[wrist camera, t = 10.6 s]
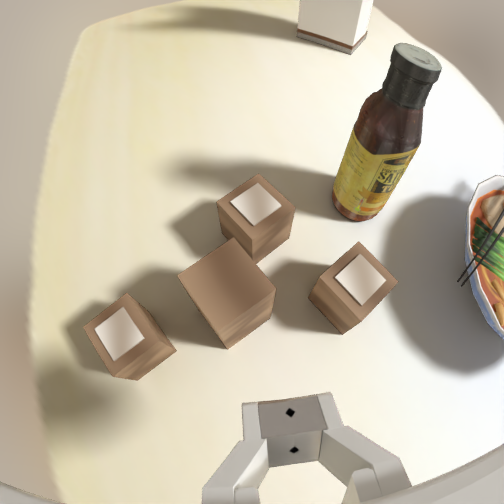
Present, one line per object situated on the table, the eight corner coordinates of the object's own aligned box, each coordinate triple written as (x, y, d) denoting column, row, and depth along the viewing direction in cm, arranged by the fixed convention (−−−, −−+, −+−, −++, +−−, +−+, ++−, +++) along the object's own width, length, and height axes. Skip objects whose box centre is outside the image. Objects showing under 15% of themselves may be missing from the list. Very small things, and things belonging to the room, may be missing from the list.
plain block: (227, 349, 29) (217, 331, 21) (197, 308, 31) (176, 275, 23) (270, 318, 30) (276, 288, 22) (238, 278, 32) (233, 237, 24)
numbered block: (137, 380, 28) (111, 376, 22) (109, 338, 29) (80, 324, 24) (177, 350, 29) (159, 340, 23) (147, 309, 31) (124, 290, 25)
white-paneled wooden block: (252, 266, 33) (252, 238, 27) (220, 231, 34) (214, 199, 29) (289, 238, 34) (295, 206, 28) (256, 206, 36) (257, 170, 30)
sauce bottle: (359, 234, 34) (436, 91, 16) (318, 197, 36) (360, 44, 18) (391, 203, 36) (464, 70, 18) (353, 170, 38) (401, 31, 20)
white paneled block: (342, 334, 30) (362, 320, 24) (306, 296, 31) (318, 274, 26) (375, 301, 31) (399, 281, 25) (340, 265, 33) (357, 238, 27)
